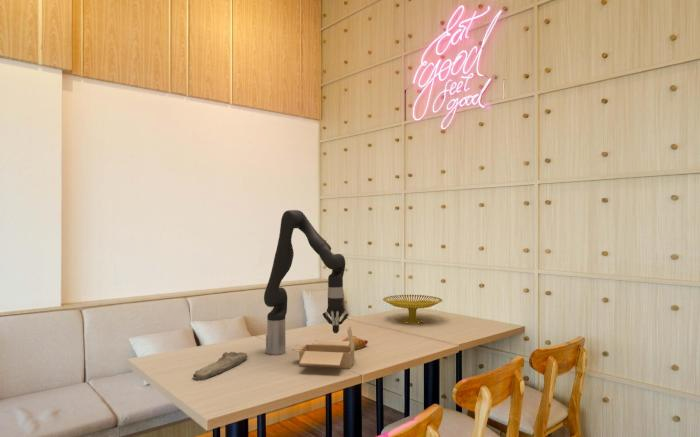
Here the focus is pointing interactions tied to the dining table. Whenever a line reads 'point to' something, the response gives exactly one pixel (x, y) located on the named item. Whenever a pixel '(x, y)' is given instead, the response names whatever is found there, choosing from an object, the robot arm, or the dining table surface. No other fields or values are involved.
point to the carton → (328, 347)
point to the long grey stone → (220, 365)
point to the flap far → (350, 338)
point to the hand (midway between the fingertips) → (335, 332)
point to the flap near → (322, 358)
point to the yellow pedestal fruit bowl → (412, 305)
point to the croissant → (357, 342)
